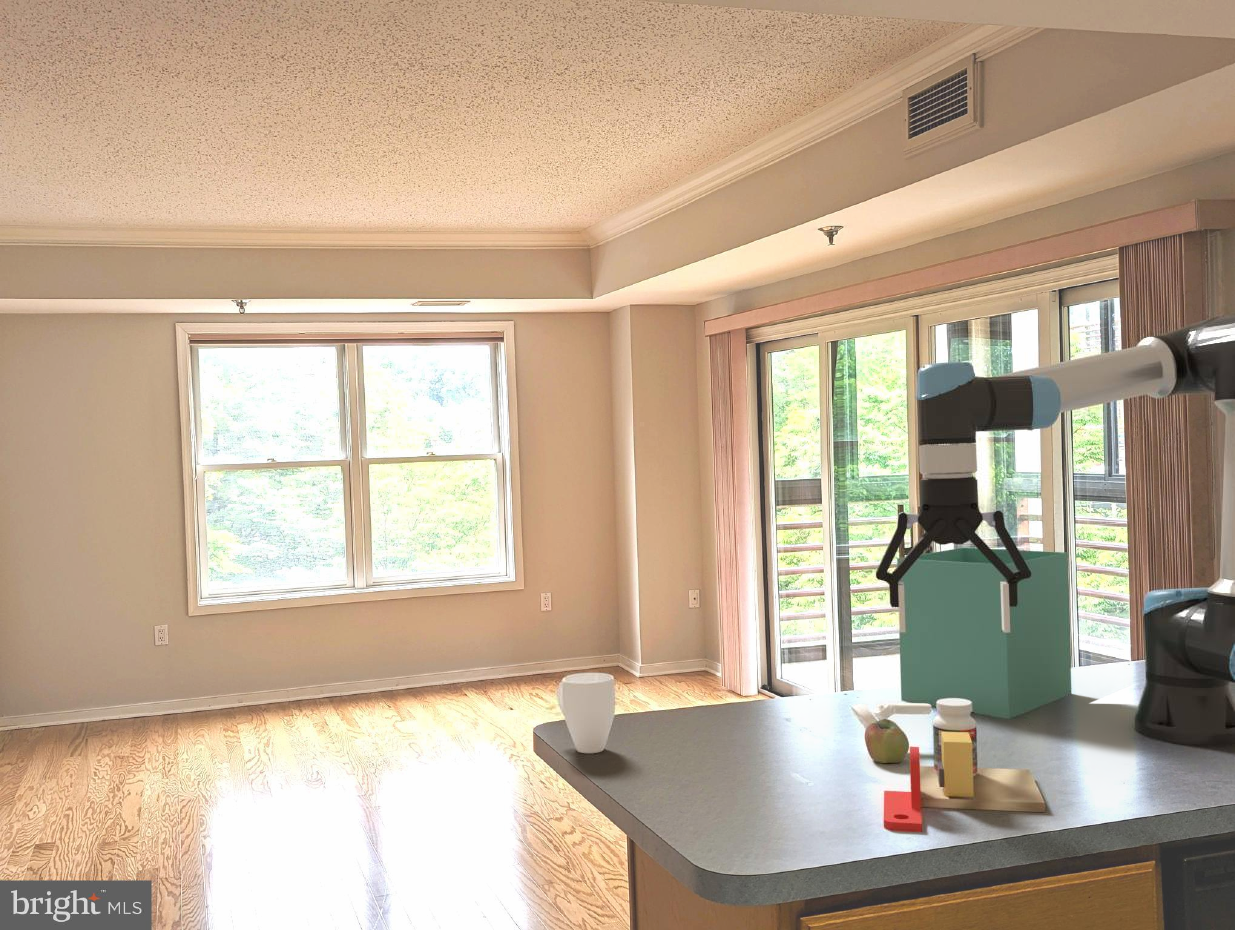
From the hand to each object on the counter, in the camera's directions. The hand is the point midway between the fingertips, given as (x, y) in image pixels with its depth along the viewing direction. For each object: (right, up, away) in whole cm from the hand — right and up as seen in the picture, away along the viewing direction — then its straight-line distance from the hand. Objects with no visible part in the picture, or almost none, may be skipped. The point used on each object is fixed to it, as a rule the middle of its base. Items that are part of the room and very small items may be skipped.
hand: (953, 631), depth 147 cm
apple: (-7, -21, +12) cm, 25 cm away
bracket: (-10, -22, -12) cm, 27 cm away
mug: (-52, -22, +24) cm, 61 cm away
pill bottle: (0, -20, 0) cm, 20 cm away
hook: (-4, -21, +18) cm, 28 cm away
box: (+21, -20, +48) cm, 56 cm away
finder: (0, -16, -7) cm, 18 cm away
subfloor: (+2, -21, -4) cm, 21 cm away
